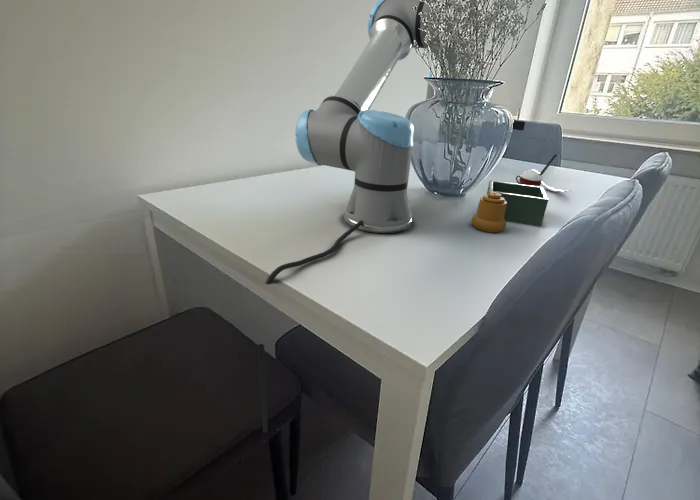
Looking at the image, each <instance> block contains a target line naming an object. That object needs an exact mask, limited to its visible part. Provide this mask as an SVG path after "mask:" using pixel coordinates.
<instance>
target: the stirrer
mask: <svg viewBox="0 0 700 500" xmlns="http://www.w3.org/2000/svg"><path fill="white" fill-rule="evenodd" d="M541 185H542V187H543V188H544V189H547V190H548V191H549V192H554V193H562V192H573V190H572V189H559V188H554V187H550V186H548V185H546V184H545V183H544V181H542V182H541Z"/></svg>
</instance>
